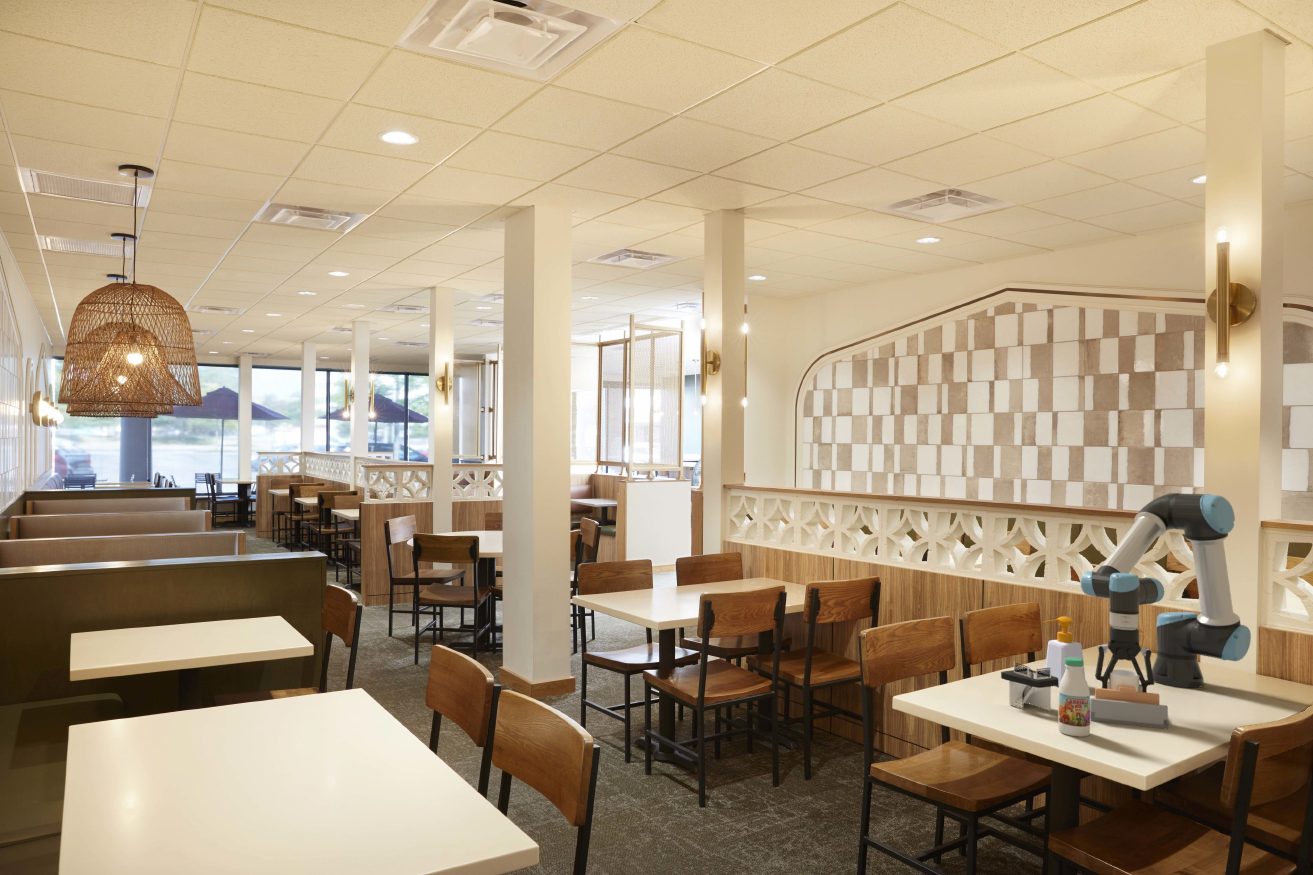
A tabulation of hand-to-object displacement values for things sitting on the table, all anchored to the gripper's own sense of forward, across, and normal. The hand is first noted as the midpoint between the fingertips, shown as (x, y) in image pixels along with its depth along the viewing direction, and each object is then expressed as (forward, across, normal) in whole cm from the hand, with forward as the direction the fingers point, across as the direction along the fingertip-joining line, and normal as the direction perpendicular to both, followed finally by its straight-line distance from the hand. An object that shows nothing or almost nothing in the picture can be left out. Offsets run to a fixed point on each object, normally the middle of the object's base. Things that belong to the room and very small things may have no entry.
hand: (1124, 706), depth 252 cm
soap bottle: (+3, -15, +30) cm, 34 cm away
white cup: (+1, 0, 0) cm, 1 cm away
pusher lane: (+3, 0, 0) cm, 3 cm away
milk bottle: (+3, -15, -23) cm, 28 cm away
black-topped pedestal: (+3, -25, -3) cm, 25 cm away
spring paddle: (+1, 0, -5) cm, 5 cm away
